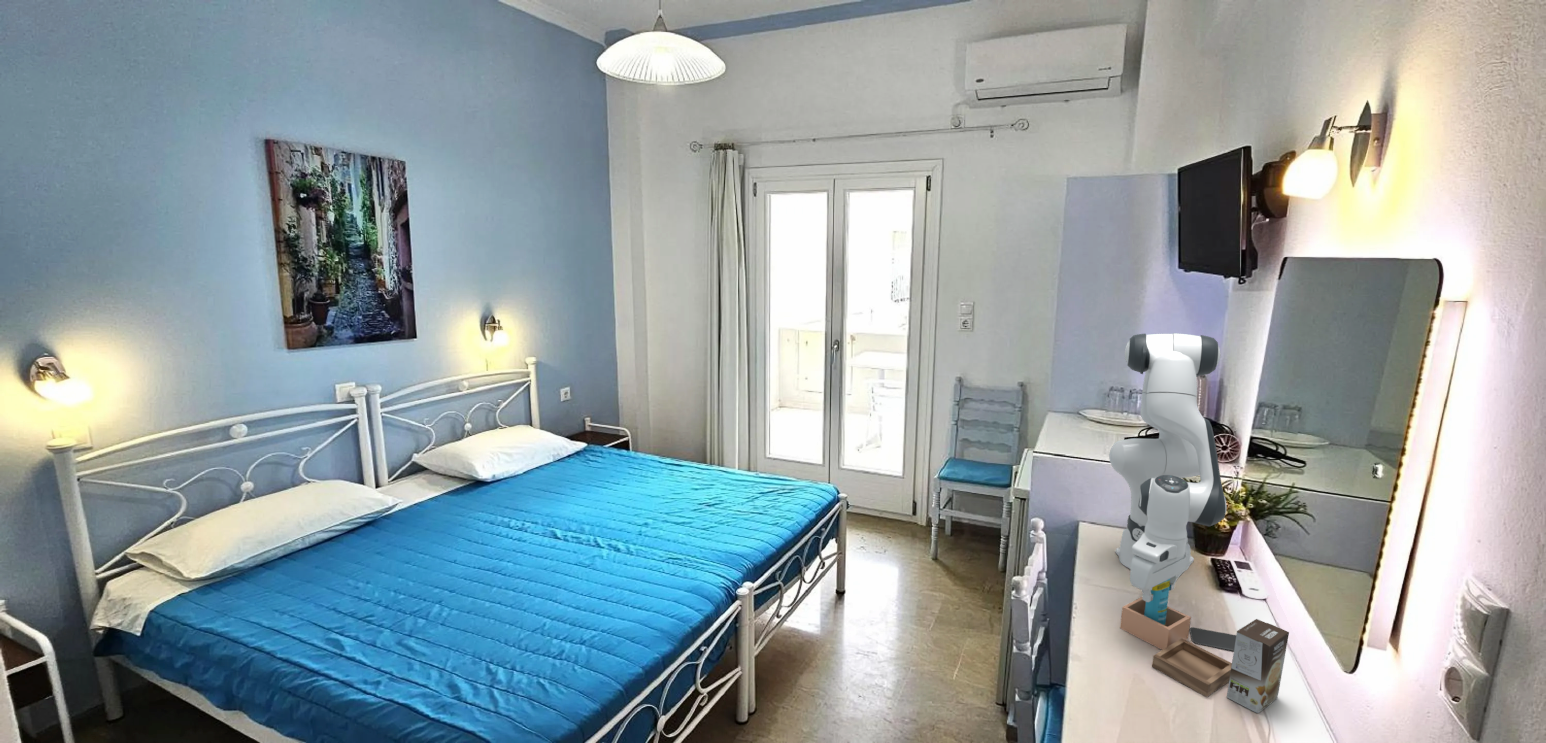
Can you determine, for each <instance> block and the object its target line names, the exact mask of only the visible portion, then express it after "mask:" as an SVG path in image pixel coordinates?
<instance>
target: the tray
mask: <svg viewBox="0 0 1546 743" xmlns="http://www.w3.org/2000/svg"><path fill="white" fill-rule="evenodd" d="M1151 664H1152V666H1151V668H1153V669H1155V670H1156V671H1158V672H1160V673H1162V674H1164V675H1166V676H1167V677H1169V678H1171V679H1173V680H1174V681H1177V682H1179V683H1181V684H1182V685H1184V686H1185V687H1187V688H1190V689H1191V690H1193V691H1195V692H1197V693H1198V694H1200V695H1202V696H1204V697H1206V698H1207V697H1209V696H1211V695H1212V694H1213V693H1214V692H1216V691H1217V690H1219V689H1220V688H1222V687H1223V686H1225V685H1226V684H1227V683H1229V679H1230V672H1231V666H1232V661H1229V660H1227V659H1224V658H1222V657H1221V656H1219V655H1216V654H1215V653H1212V652H1210V651H1208V650H1206V649H1205V648H1202V647H1200V646H1199V645H1197V644H1194V643H1193V642H1190V641H1188V640H1184V639H1182V638H1181V639H1180V640H1178V641H1176V642H1175V643H1173V644H1171V645H1170V646H1168V647H1167V648H1165V649H1163V650H1160V651H1158V652H1156V653H1155V654H1154V655H1152V662H1151Z"/></svg>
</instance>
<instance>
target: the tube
mask: <svg viewBox="0 0 1546 743" xmlns="http://www.w3.org/2000/svg"><path fill="white" fill-rule="evenodd" d="M1169 587H1170V579H1168V580H1166V581H1164V582H1162V583H1160V584H1158V585H1156V586H1154V587H1152V590H1151V594H1153V600H1152V601H1150V602H1146V605H1145V612H1144V616H1146V617H1148V618H1150V619H1152V620H1154V621H1156V622H1158V623H1160V624H1162V625H1164V626H1165V623H1166V614H1167V606H1168V604H1169V594H1170V591H1169Z"/></svg>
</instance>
